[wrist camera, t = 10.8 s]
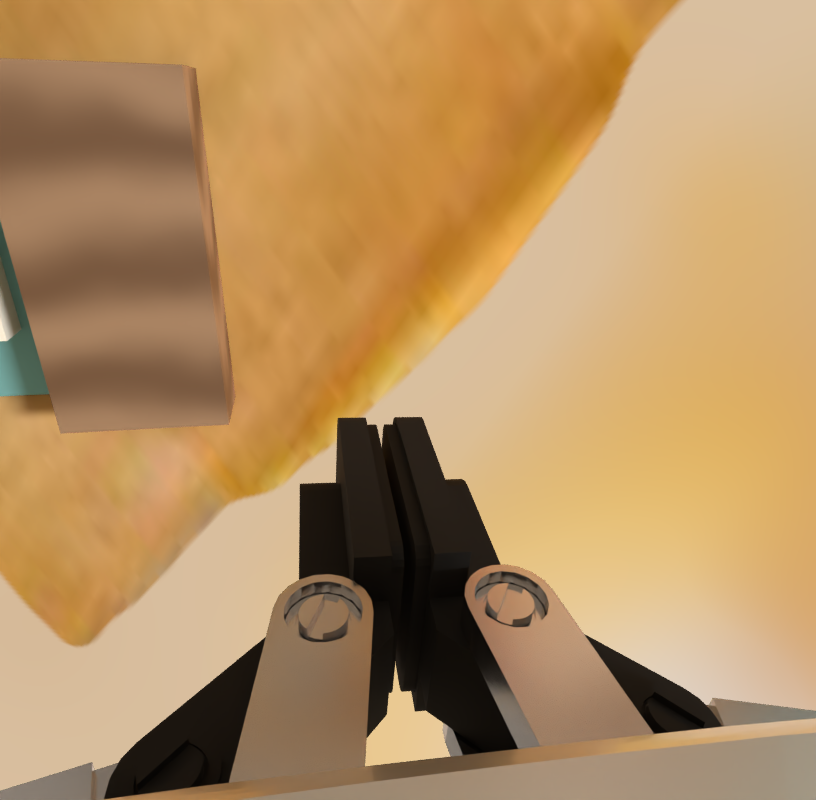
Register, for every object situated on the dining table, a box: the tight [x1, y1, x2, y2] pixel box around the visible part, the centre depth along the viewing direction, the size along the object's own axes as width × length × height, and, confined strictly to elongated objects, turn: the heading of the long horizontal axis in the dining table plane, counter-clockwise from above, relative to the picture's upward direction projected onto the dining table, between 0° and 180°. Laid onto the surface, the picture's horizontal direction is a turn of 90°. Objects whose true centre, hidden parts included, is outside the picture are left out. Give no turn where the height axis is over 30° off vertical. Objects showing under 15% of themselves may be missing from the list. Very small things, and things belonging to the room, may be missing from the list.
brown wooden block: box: [0, 58, 235, 433], centre depth 34 cm, size 20×10×4 cm, turn 178°
